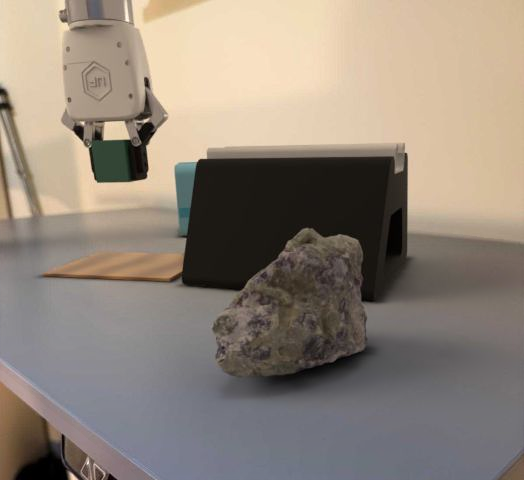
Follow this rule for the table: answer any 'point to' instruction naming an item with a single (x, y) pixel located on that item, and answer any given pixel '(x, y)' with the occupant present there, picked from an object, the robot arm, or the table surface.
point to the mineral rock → (296, 310)
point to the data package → (184, 192)
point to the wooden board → (123, 266)
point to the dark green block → (112, 161)
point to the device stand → (296, 208)
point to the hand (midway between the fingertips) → (121, 178)
